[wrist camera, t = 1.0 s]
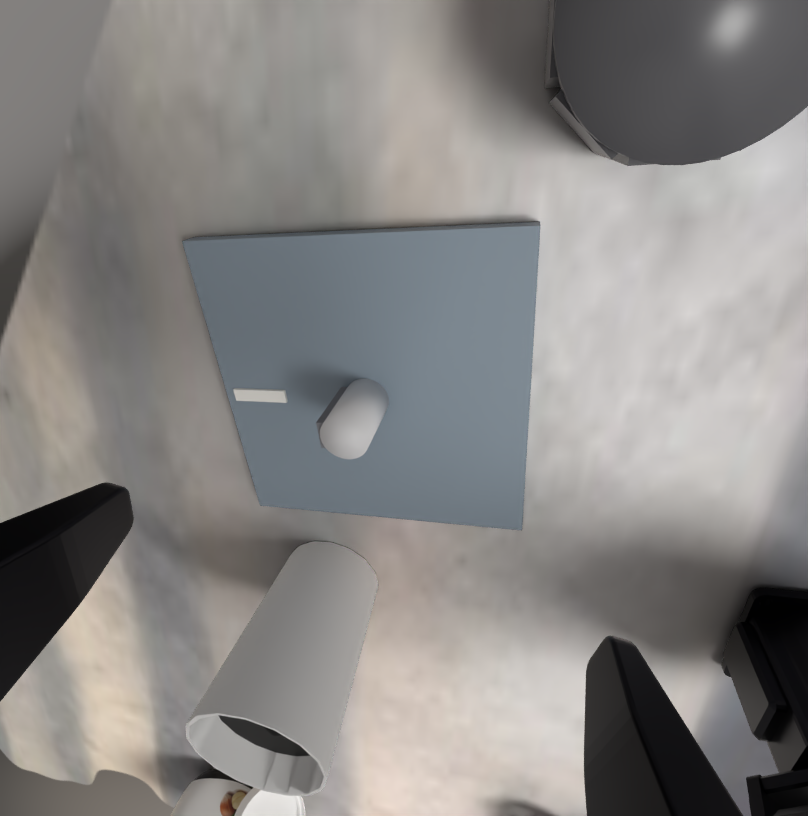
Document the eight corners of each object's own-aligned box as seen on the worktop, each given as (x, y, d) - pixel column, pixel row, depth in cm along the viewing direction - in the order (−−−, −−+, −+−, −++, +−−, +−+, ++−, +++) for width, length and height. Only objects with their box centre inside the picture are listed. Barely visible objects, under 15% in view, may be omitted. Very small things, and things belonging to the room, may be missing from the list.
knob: (838, 10, 13) (995, -47, 8) (634, 197, 16) (673, 225, 12) (692, -194, 12) (789, -380, 7) (503, 52, 15) (494, 22, 10)
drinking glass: (276, 526, 28) (170, 697, 20) (386, 547, 27) (324, 738, 19) (286, 599, 32) (199, 772, 23) (384, 621, 30) (330, 810, 22)
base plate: (539, 221, 17) (543, 245, 14) (522, 518, 24) (521, 583, 20) (193, 237, 20) (126, 259, 17) (266, 496, 27) (229, 548, 24)
